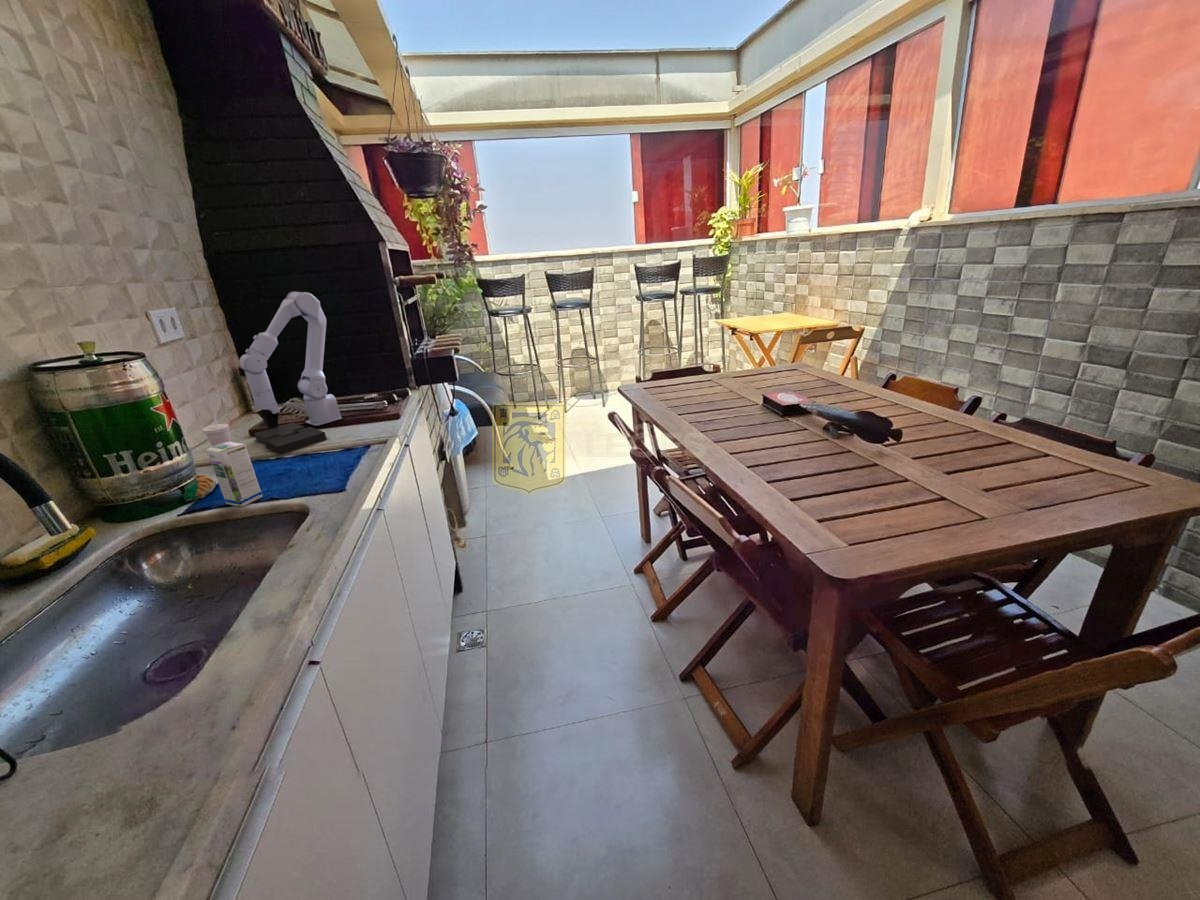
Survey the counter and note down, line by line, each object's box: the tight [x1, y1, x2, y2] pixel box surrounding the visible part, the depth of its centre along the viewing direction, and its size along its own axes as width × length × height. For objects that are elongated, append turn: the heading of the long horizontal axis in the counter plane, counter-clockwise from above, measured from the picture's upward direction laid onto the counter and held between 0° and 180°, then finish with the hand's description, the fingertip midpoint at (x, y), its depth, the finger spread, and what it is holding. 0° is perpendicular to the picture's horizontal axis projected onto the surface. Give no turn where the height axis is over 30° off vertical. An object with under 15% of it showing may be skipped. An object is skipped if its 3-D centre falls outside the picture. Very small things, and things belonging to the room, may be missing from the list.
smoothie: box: [202, 412, 232, 447], centre depth 143 cm, size 6×6×14 cm
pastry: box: [186, 474, 217, 502], centre depth 123 cm, size 9×7×4 cm
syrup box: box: [206, 441, 263, 508], centre depth 116 cm, size 6×6×14 cm
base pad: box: [264, 426, 327, 455], centre depth 154 cm, size 14×10×2 cm
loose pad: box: [253, 422, 305, 445], centre depth 159 cm, size 12×11×2 cm
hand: (274, 430), depth 163 cm, fingers closed
